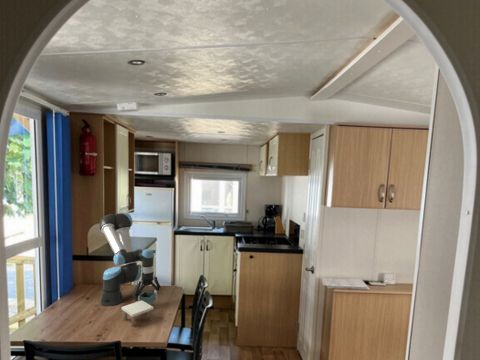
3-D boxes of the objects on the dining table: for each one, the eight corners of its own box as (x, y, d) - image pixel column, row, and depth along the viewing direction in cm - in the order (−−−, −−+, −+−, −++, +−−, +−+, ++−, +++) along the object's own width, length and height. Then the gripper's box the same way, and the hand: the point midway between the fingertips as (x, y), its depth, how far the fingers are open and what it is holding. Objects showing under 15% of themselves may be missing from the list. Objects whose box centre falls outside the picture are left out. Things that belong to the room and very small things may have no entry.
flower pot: (149, 311, 191) (149, 297, 191) (137, 309, 193) (137, 296, 193) (155, 305, 200) (156, 292, 200) (144, 303, 201) (144, 291, 201)
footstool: (121, 319, 179) (121, 307, 179) (141, 312, 189) (142, 300, 189) (132, 327, 169) (132, 314, 169) (153, 319, 180) (153, 307, 180)
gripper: (133, 277, 184) (132, 310, 184) (166, 269, 203) (165, 298, 203) (127, 274, 189) (127, 306, 189) (160, 266, 208) (159, 295, 208)
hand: (146, 302), depth 196 cm, fingers open, 13 cm apart
